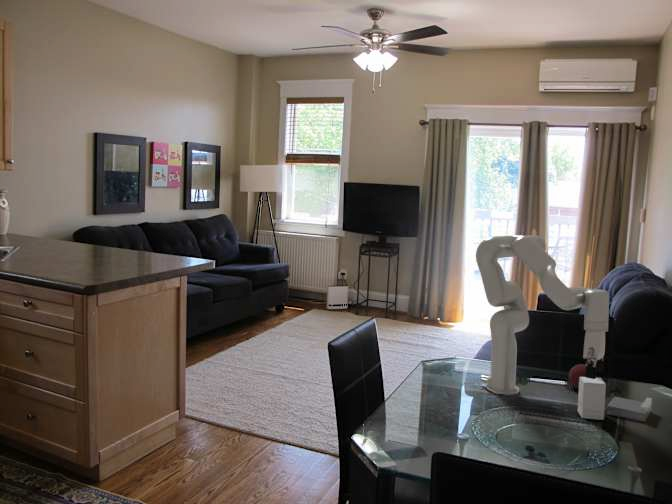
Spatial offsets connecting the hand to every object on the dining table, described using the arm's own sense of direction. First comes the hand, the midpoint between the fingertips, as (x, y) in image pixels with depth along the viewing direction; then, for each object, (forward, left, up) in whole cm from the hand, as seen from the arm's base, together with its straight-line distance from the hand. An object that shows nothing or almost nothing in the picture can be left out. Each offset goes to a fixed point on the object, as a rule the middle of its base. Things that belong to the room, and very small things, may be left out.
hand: (594, 374), depth 204 cm
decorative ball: (-11, +27, -15) cm, 33 cm away
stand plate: (+9, +11, -15) cm, 21 cm away
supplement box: (-1, 0, -15) cm, 15 cm away
